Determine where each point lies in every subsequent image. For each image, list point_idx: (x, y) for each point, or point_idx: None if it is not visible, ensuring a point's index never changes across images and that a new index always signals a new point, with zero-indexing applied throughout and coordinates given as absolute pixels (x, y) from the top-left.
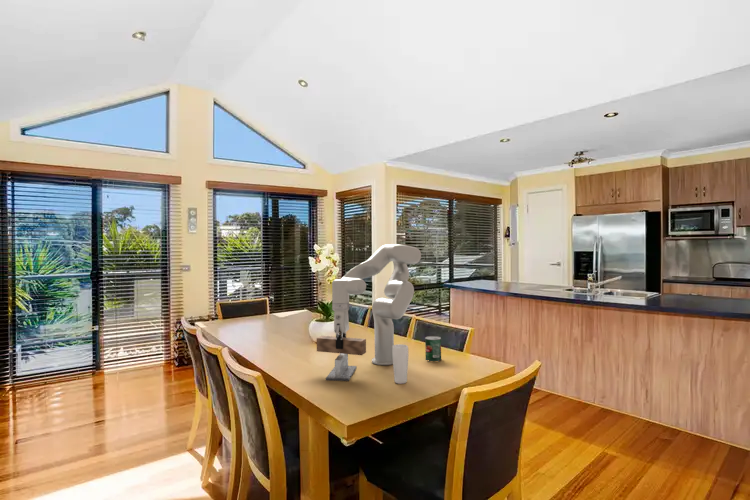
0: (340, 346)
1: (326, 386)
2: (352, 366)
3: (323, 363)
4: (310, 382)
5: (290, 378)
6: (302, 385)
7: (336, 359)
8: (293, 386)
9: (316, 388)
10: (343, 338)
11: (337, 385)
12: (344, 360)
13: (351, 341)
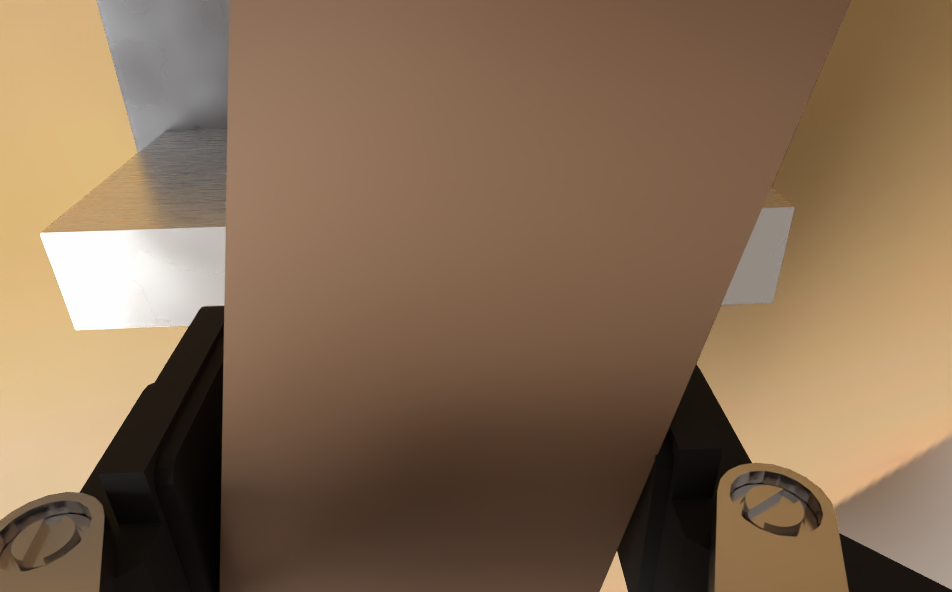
0: (699, 373)
1: (883, 211)
2: (147, 59)
3: (86, 457)
4: (734, 394)
5: (615, 566)
6: (812, 432)
7: (737, 282)
8: (828, 486)
9: (924, 292)
10: (408, 485)
11: (872, 92)
12: None
13: (790, 92)
